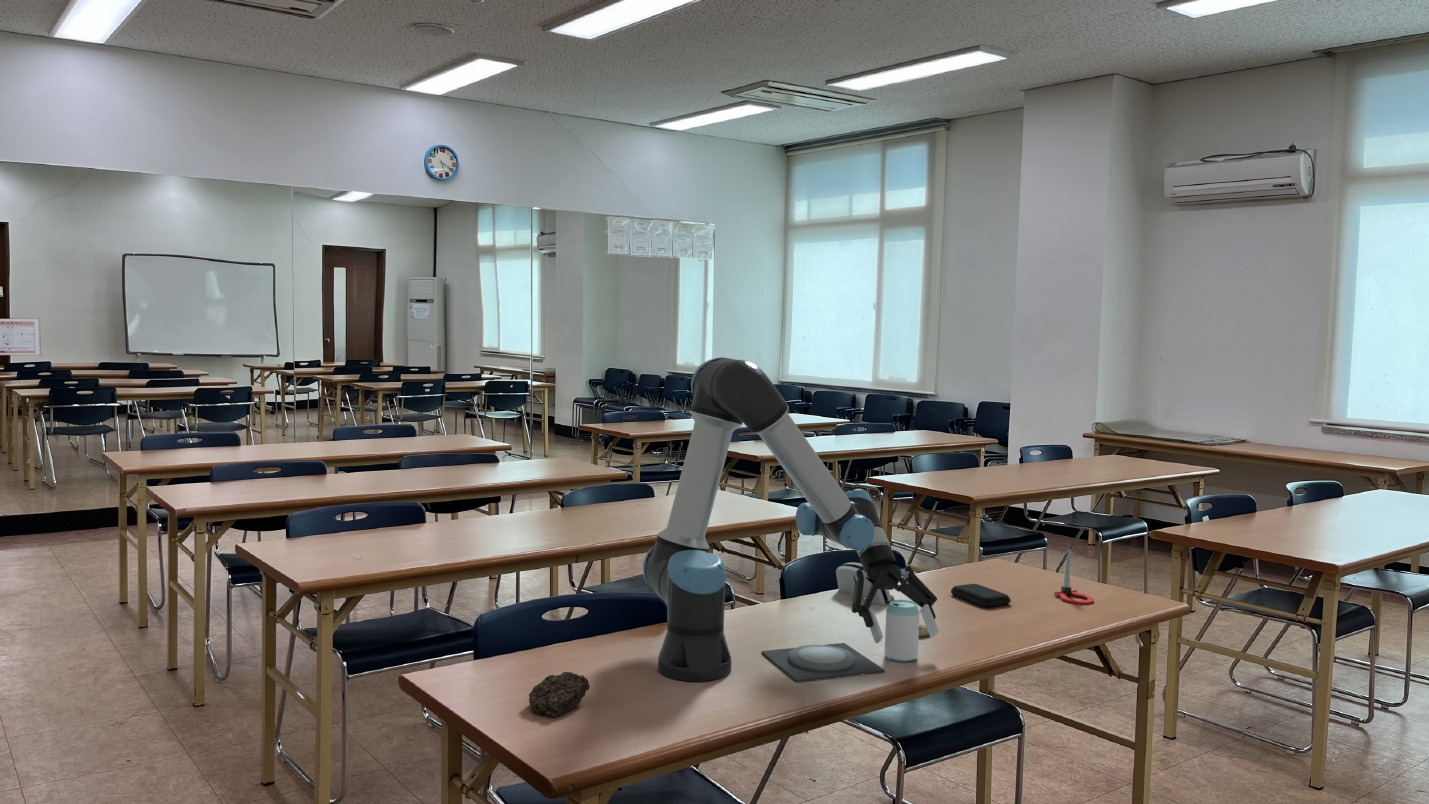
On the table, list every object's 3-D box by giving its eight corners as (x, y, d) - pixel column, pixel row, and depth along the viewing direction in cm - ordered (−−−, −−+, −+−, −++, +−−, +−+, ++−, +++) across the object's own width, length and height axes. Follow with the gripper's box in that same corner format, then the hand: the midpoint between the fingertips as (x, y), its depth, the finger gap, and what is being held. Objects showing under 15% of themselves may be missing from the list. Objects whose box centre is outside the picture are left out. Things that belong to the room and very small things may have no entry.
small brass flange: (909, 638, 225) (909, 633, 225) (893, 629, 232) (894, 624, 232) (936, 636, 228) (936, 630, 228) (919, 627, 234) (920, 621, 234)
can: (905, 665, 208) (908, 609, 207) (878, 657, 213) (880, 602, 212) (923, 657, 213) (926, 603, 212) (896, 649, 218) (898, 596, 217)
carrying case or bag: (1017, 606, 256) (977, 591, 269) (1017, 594, 255) (978, 580, 268) (985, 610, 251) (947, 595, 264) (986, 599, 250) (947, 584, 263)
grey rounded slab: (896, 602, 255) (888, 568, 252) (883, 611, 253) (875, 576, 250) (851, 587, 269) (843, 554, 266) (839, 595, 266) (831, 562, 264)
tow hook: (1100, 605, 259) (1076, 594, 267) (1104, 557, 257) (1080, 547, 266) (1074, 607, 256) (1050, 596, 264) (1078, 559, 254) (1054, 549, 263)
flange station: (796, 682, 196) (796, 673, 196) (761, 653, 213) (761, 645, 213) (884, 672, 203) (885, 663, 203) (844, 644, 220) (844, 636, 220)
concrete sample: (561, 690, 190) (561, 664, 190) (598, 704, 184) (598, 677, 183) (514, 707, 181) (514, 680, 181) (551, 722, 175) (551, 694, 174)
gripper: (915, 557, 230) (949, 639, 218) (819, 564, 222) (849, 650, 209) (929, 539, 225) (964, 623, 212) (831, 546, 216) (862, 633, 203)
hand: (907, 637), depth 210 cm, fingers open, 13 cm apart
